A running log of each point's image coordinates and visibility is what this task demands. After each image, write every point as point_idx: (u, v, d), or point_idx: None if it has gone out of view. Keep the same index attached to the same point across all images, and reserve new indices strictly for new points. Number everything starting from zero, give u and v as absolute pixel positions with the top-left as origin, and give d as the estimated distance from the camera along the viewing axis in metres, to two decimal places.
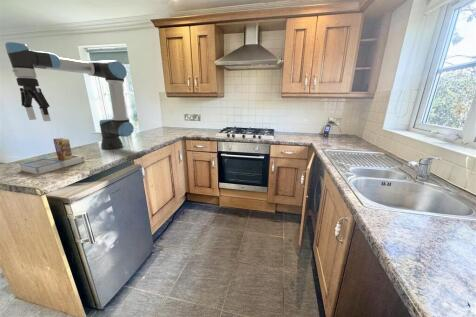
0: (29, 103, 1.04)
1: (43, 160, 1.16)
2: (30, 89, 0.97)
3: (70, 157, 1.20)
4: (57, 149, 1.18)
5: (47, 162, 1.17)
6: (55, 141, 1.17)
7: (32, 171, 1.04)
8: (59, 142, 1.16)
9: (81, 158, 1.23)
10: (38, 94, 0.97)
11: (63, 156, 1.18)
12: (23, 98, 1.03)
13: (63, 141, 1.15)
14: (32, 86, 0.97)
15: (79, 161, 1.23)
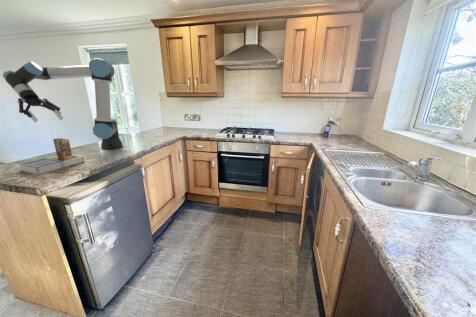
0: (51, 108, 1.26)
1: (43, 160, 1.16)
2: None
3: (70, 157, 1.20)
4: (57, 149, 1.18)
5: (47, 162, 1.17)
6: (55, 141, 1.17)
7: (32, 171, 1.04)
8: (59, 142, 1.16)
9: (81, 158, 1.23)
10: (19, 104, 1.14)
11: (63, 157, 1.18)
12: None
13: (63, 141, 1.15)
14: None
15: (79, 161, 1.23)
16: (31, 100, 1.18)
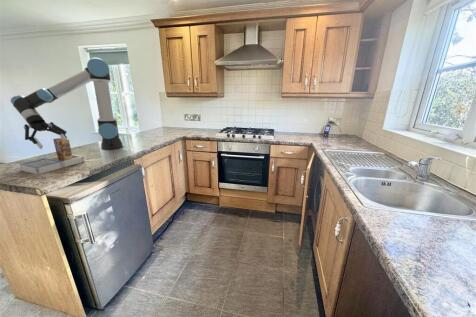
0: (57, 132, 1.24)
1: (43, 160, 1.16)
2: None
3: (70, 157, 1.20)
4: (57, 149, 1.18)
5: (47, 162, 1.17)
6: (55, 141, 1.17)
7: (32, 171, 1.04)
8: (59, 142, 1.16)
9: (81, 158, 1.23)
10: (25, 130, 1.13)
11: (63, 157, 1.18)
12: None
13: (63, 141, 1.15)
14: (29, 124, 1.16)
15: (79, 161, 1.23)
16: (37, 125, 1.17)
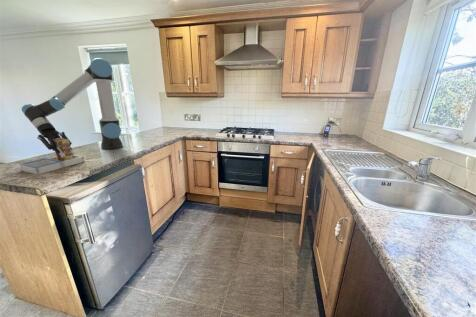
0: None
1: (43, 160, 1.16)
2: None
3: (70, 157, 1.20)
4: None
5: (47, 162, 1.17)
6: (55, 141, 1.17)
7: (32, 171, 1.04)
8: (59, 142, 1.16)
9: (81, 158, 1.23)
10: (42, 141, 1.14)
11: None
12: None
13: (63, 141, 1.15)
14: None
15: (79, 161, 1.23)
16: (49, 134, 1.17)
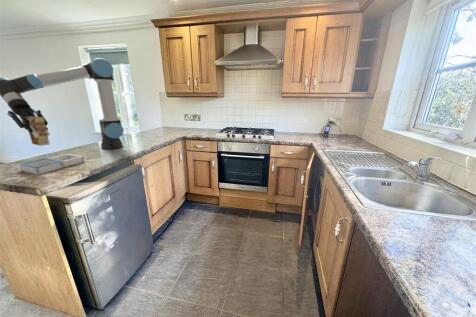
0: None
1: (43, 160, 1.16)
2: None
3: (45, 137, 1.08)
4: None
5: (47, 162, 1.17)
6: (27, 119, 1.04)
7: (32, 171, 1.04)
8: (32, 120, 1.03)
9: (81, 158, 1.23)
10: (12, 118, 1.02)
11: None
12: None
13: (36, 119, 1.03)
14: None
15: (79, 161, 1.23)
16: (22, 111, 1.05)
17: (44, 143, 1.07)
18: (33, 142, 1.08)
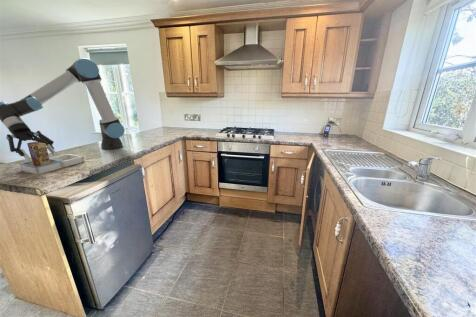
0: (43, 142, 1.12)
1: None
2: None
3: (47, 162, 1.09)
4: (32, 154, 1.08)
5: None
6: (29, 145, 1.06)
7: (32, 171, 1.04)
8: (34, 146, 1.05)
9: (81, 158, 1.23)
10: None
11: (39, 162, 1.07)
12: None
13: (39, 145, 1.05)
14: (12, 133, 1.04)
15: (79, 161, 1.23)
16: (21, 135, 1.05)
17: None
18: None
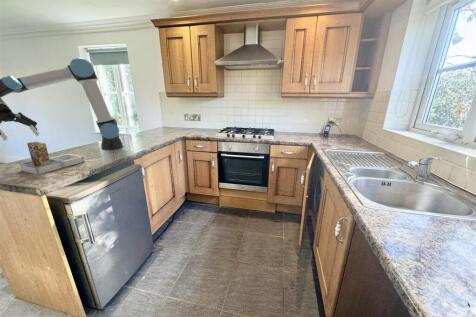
0: (26, 123, 1.14)
1: None
2: None
3: (47, 162, 1.09)
4: (32, 154, 1.08)
5: None
6: (29, 145, 1.06)
7: (32, 171, 1.04)
8: (34, 146, 1.05)
9: (81, 158, 1.23)
10: None
11: (39, 162, 1.07)
12: None
13: (39, 145, 1.05)
14: None
15: (79, 161, 1.23)
16: (2, 115, 1.06)
17: None
18: None
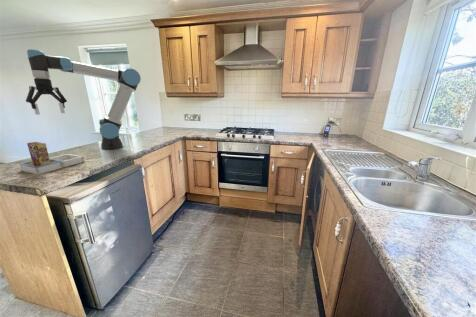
0: (58, 99, 1.28)
1: None
2: None
3: (47, 162, 1.09)
4: (32, 154, 1.08)
5: None
6: (29, 145, 1.06)
7: (32, 171, 1.04)
8: (34, 146, 1.05)
9: (81, 158, 1.23)
10: (29, 91, 1.15)
11: (39, 162, 1.07)
12: (58, 95, 1.29)
13: (39, 145, 1.05)
14: None
15: (79, 161, 1.23)
16: (43, 90, 1.19)
17: None
18: None
